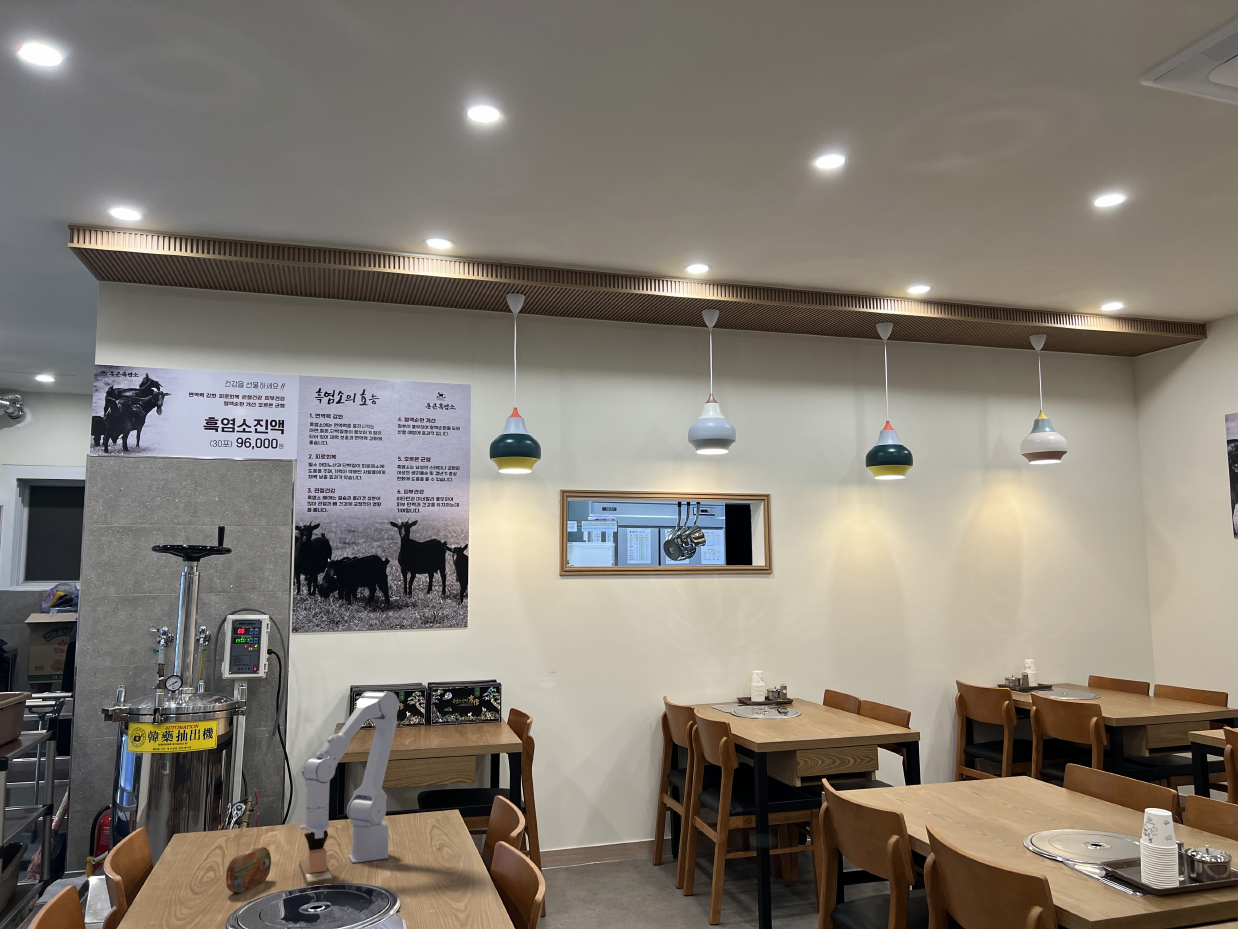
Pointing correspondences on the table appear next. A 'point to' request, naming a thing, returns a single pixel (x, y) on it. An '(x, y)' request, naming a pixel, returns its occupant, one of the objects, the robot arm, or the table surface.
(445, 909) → the table surface
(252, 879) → the tin
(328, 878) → the track
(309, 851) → the slider
